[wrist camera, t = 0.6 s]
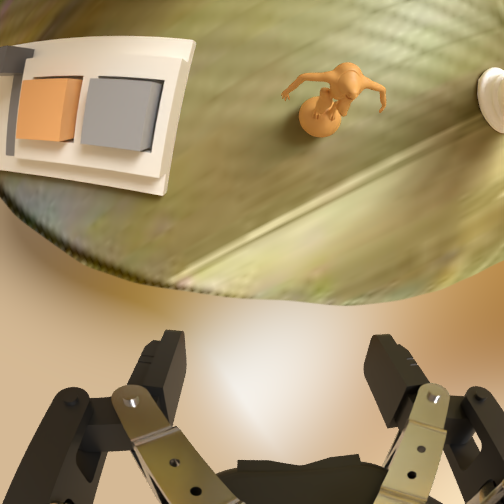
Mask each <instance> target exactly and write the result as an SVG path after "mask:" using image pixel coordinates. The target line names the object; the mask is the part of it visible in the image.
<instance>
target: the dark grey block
mask: <svg viewBox="0 0 504 504" xmlns="http://www.w3.org/2000/svg"><path fill="white" fill-rule="evenodd" d="M34 50H35V49H30V48H23V47H16V46H3V47H0V76H12V75H21V74H23V73H24V67H25V62H26V59H28V58H33V55H34Z"/></svg>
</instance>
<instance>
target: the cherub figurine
mask: <svg viewBox="0 0 504 504" xmlns="http://www.w3.org/2000/svg"><path fill="white" fill-rule="evenodd" d="M477 96H478V101H479V106H480V109H481V112H482V114H483V116H484V117H485V119H486V120H487V122H488V123H489V125H490V126H491V127H492V128H493V129H495V130H496V131H498V132H500V133H504V70H502V69H500V68H490V69H488V70H486V71H485V72H484V73H483V74H482V76H481V77H480V78H479V79H478V90H477Z"/></svg>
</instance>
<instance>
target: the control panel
mask: <svg viewBox="0 0 504 504" xmlns="http://www.w3.org/2000/svg"><path fill="white" fill-rule="evenodd" d="M14 46H16V47H23V48H30V49H35V50H34V55H33V58H28V59H26V62H25V67H24V73H23V74H21V75H12V76H0V170H4V171H12V172H19V173H26V174H34V175H41V176H47V177H54V178H61V179H67V180H74V181H80V182H86V183H92V184H98V185H104V186H110V187H116V188H122V189H128V190H133V191H139V192H144V193H150V194H155V195H161V196H163V195H164V194H165V193H166V192H167V185H168V179H169V172H170V166H171V160H172V154H173V148H174V143H175V137H176V132H177V126H178V121H179V116H180V111H181V106H182V102H183V97H184V92H185V88H186V83H187V79H188V75H189V70H190V66H191V62H192V58H193V54H194V50H195V46H196V42H195V41H194V40H188V39H178V38H165V37H146V36H95V37H77V38H65V39H55V40H46V41H39V42H32V43H25V44H20V45H14ZM56 78H71V79H80V80H83V81H82V87H81V92H80V98H79V104H78V111H77V118H76V126H75V134H74V138H72V139H68V140H64V141H59V142H58V141H46V140H32V139H16V129H17V119H18V109H19V101H20V94H21V88H22V81H23V80H35V79H56ZM90 78H101V79H123V80H138V81H150V82H155V83H159V84H162V85H163V86H162V91H161V96H160V101H159V106H158V111H157V116H156V122H155V127H154V133H153V139H152V145H151V147H150V148H147V149H144V150H142V151H135V150H128V149H120V148H113V147H105V146H96V145H88V144H80V142H81V133H82V125H83V118H84V111H85V104H86V98H87V92H88V87H89V82H90Z"/></svg>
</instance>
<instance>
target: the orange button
mask: <svg viewBox="0 0 504 504" xmlns="http://www.w3.org/2000/svg"><path fill="white" fill-rule="evenodd" d="M82 81H83V80H80V79H71V78H56V79H35V80H23V81H22V88H21V94H20V101H19V109H18V119H17V129H16V139H32V140H46V141H58V142H59V141H64V140H68V139H72V138H74V134H75V126H76V118H77V111H78V104H79V98H80V92H81V87H82Z"/></svg>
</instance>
